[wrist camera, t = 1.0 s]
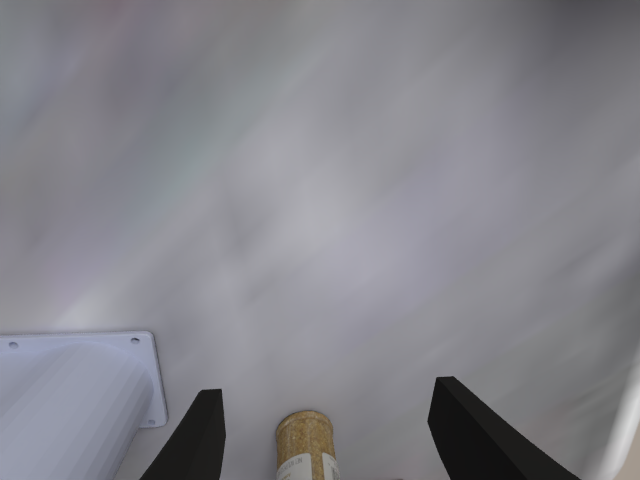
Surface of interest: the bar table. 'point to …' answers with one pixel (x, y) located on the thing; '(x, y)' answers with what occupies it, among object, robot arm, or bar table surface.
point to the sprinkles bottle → (306, 448)
